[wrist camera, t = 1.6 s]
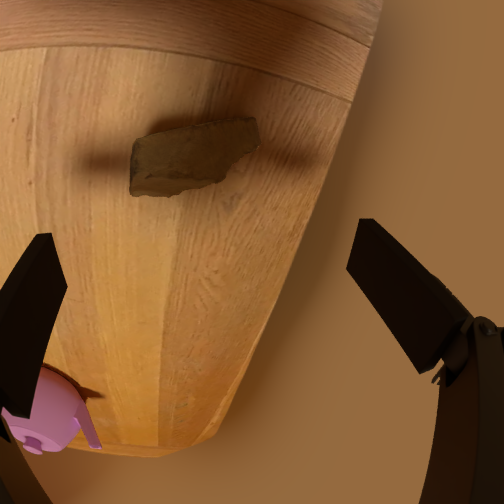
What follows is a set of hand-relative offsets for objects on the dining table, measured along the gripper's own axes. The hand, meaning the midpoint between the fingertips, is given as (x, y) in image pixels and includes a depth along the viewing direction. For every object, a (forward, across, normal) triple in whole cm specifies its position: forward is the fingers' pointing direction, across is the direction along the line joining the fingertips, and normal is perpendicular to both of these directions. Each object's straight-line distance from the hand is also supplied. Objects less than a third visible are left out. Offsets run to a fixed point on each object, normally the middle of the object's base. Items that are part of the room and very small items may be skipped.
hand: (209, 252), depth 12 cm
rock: (+14, 0, +1) cm, 14 cm away
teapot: (+14, -27, -33) cm, 45 cm away
